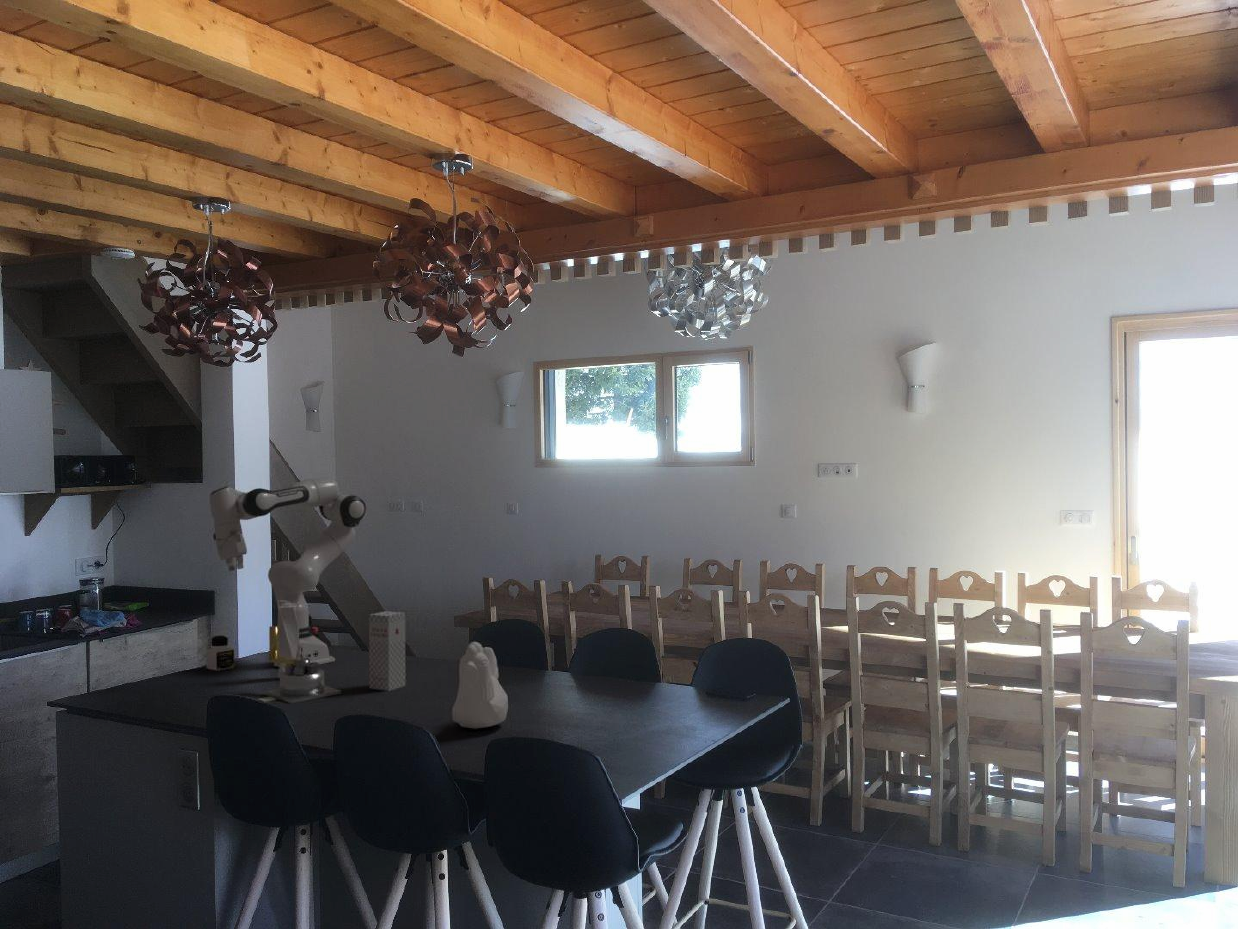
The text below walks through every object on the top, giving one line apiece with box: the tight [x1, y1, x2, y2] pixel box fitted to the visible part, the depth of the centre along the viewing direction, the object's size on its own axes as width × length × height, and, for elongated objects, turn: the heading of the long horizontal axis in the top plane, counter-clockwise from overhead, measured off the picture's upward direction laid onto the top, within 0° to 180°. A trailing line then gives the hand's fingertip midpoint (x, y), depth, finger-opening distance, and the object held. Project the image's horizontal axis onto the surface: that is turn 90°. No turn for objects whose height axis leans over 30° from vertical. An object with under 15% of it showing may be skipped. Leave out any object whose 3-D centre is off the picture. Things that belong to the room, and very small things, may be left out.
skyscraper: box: [276, 600, 304, 680], centre depth 349 cm, size 8×8×28 cm
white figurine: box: [451, 641, 509, 729], centre depth 286 cm, size 25×16×25 cm, turn 159°
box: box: [368, 610, 406, 692], centre depth 334 cm, size 8×8×25 cm
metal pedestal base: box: [262, 668, 342, 704], centre depth 324 cm, size 18×18×7 cm
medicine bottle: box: [206, 635, 235, 672], centre depth 366 cm, size 7×7×12 cm
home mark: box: [258, 696, 277, 703], centre depth 316 cm, size 4×4×1 cm
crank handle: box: [268, 625, 320, 675], centre depth 326 cm, size 18×10×14 cm, turn 66°
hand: (236, 569), depth 351 cm, fingers open, 8 cm apart
